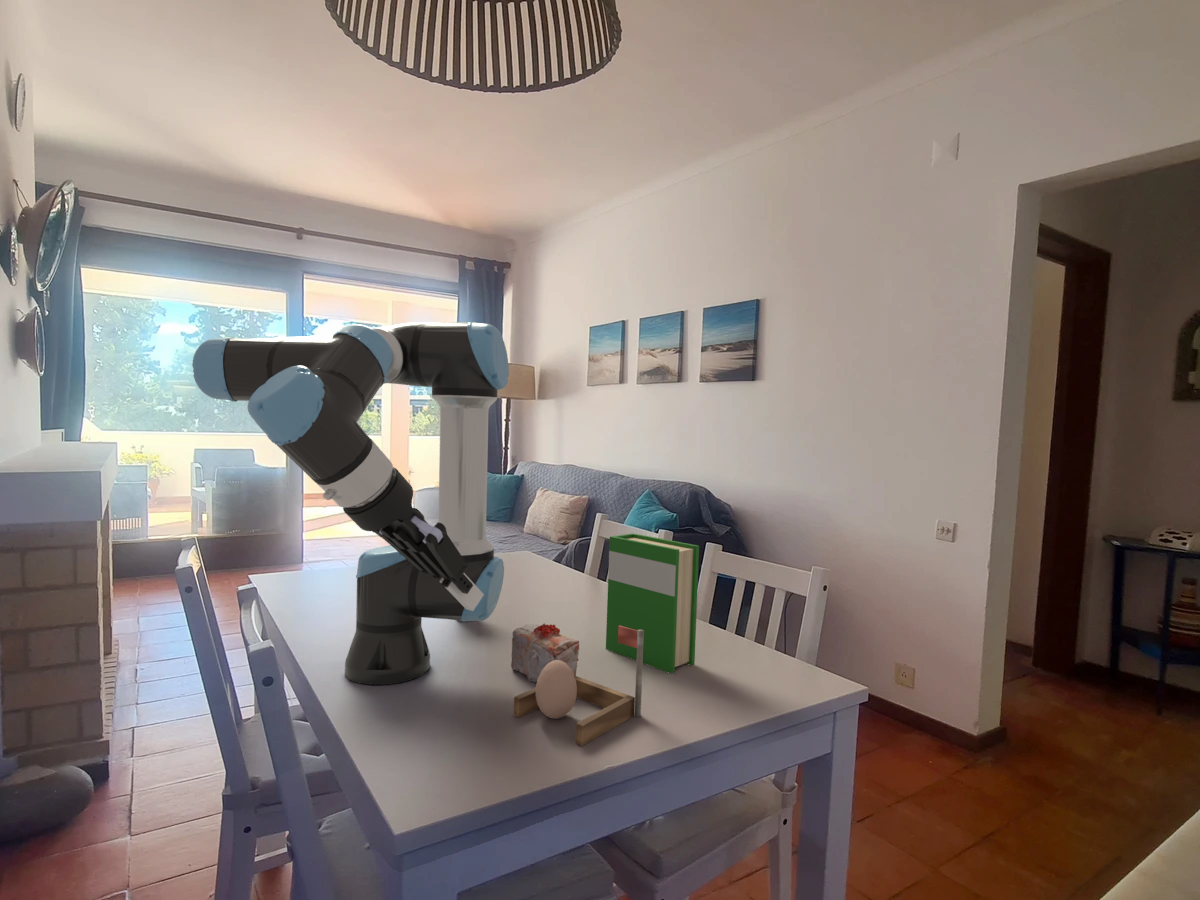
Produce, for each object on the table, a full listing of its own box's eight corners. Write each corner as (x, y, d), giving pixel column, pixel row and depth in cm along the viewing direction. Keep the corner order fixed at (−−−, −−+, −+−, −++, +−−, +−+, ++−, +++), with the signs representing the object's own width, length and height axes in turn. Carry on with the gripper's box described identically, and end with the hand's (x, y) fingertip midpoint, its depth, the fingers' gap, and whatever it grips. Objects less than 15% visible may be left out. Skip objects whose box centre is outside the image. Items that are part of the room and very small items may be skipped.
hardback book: (694, 664, 124) (699, 545, 123) (671, 674, 118) (676, 549, 118) (629, 641, 136) (633, 533, 135) (605, 649, 131) (609, 536, 130)
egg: (579, 725, 97) (581, 667, 96) (537, 728, 95) (539, 670, 95) (571, 706, 103) (573, 652, 103) (532, 709, 101) (533, 654, 101)
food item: (584, 682, 113) (586, 629, 113) (552, 695, 107) (554, 639, 107) (535, 661, 122) (537, 612, 122) (503, 672, 117) (505, 620, 116)
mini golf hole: (513, 715, 99) (516, 628, 99) (571, 688, 110) (573, 610, 110) (586, 748, 90) (589, 653, 89) (641, 715, 101) (645, 630, 100)
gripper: (316, 506, 73) (429, 615, 87) (378, 517, 65) (492, 635, 79) (358, 460, 78) (459, 572, 91) (422, 466, 70) (522, 587, 83)
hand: (474, 601), depth 85 cm, fingers closed
